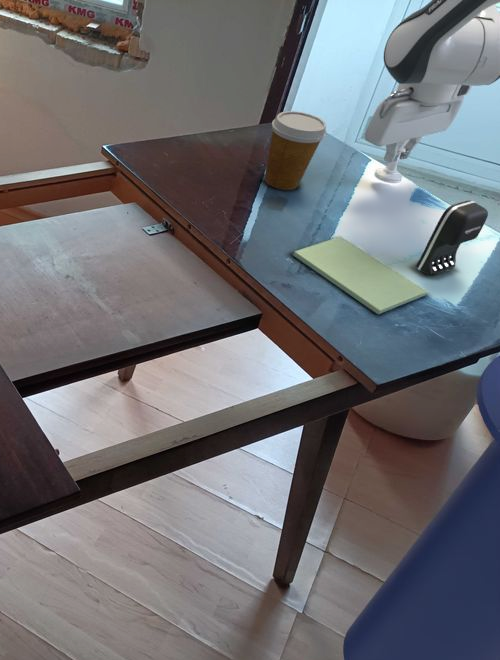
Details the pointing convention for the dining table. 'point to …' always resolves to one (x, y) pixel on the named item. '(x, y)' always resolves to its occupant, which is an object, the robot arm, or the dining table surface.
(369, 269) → the mat
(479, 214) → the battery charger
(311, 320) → the dining table surface
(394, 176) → the chess piece
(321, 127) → the disposable coffee cup
